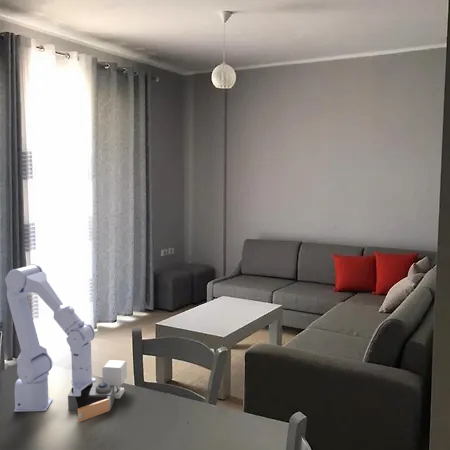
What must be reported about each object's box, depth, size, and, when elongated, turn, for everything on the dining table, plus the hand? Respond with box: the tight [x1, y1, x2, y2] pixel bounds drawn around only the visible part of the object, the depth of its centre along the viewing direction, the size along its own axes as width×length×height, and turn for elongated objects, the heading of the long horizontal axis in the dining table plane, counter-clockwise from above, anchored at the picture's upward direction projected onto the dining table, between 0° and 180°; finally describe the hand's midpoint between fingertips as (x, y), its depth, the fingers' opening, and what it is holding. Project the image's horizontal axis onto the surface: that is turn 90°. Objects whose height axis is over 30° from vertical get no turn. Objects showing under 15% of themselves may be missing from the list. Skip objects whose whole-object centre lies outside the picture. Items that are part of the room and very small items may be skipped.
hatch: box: [77, 396, 112, 423], centre depth 156 cm, size 11×2×4 cm, turn 133°
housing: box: [67, 382, 116, 411], centre depth 163 cm, size 13×7×6 cm, turn 93°
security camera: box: [101, 359, 128, 399], centre depth 171 cm, size 6×7×10 cm
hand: (82, 408), depth 157 cm, fingers closed
